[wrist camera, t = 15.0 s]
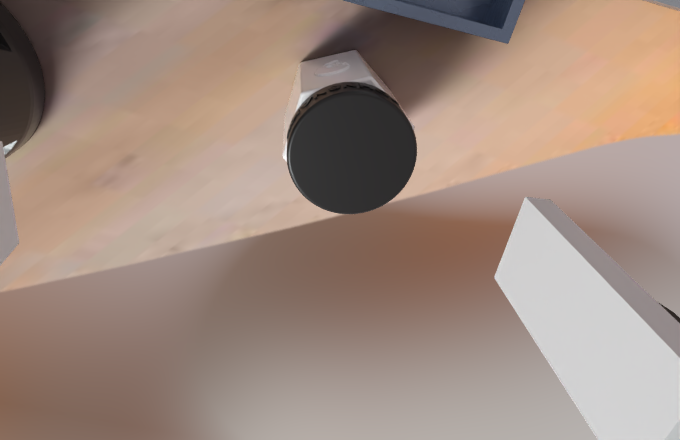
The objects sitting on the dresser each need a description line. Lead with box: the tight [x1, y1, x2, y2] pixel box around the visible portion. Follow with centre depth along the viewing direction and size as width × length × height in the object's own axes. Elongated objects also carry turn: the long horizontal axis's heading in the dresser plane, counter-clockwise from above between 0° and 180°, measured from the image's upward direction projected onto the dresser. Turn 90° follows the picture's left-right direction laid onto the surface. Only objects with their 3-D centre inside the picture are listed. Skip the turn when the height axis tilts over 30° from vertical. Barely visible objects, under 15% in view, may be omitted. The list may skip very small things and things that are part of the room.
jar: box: [283, 50, 417, 214], centre depth 36 cm, size 9×8×12 cm
